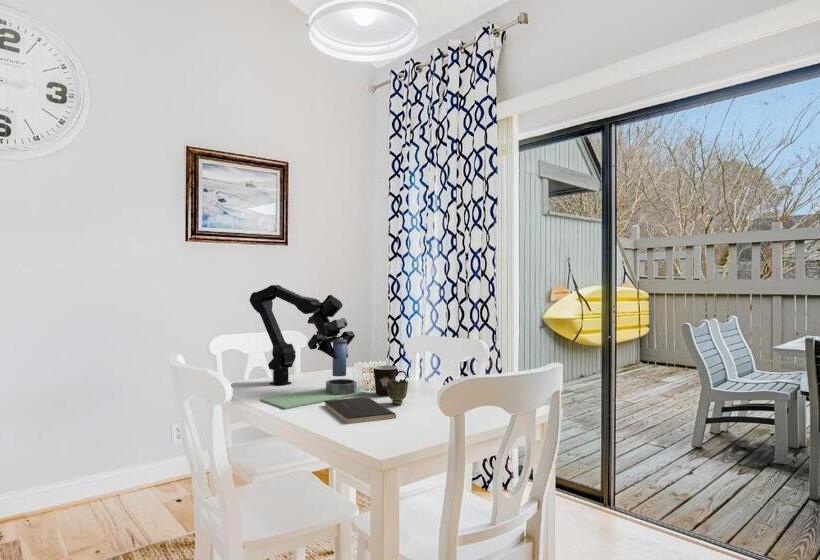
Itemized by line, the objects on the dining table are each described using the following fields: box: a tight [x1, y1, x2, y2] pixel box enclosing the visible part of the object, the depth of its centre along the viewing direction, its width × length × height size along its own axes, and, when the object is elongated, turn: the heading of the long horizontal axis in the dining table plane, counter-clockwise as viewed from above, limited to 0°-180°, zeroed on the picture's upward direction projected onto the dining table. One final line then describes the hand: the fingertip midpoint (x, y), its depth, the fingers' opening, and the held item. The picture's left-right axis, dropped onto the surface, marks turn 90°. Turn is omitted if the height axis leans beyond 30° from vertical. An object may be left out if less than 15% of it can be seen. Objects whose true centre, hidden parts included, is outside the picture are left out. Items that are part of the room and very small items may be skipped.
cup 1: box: [325, 378, 358, 395], centre depth 194 cm, size 11×11×4 cm
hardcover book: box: [323, 396, 397, 424], centre depth 168 cm, size 16×23×2 cm
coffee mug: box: [373, 364, 408, 398], centre depth 192 cm, size 12×9×10 cm
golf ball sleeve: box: [332, 339, 348, 377], centre depth 192 cm, size 5×5×13 cm
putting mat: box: [259, 387, 367, 410], centre depth 187 cm, size 16×34×1 cm, turn 135°
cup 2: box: [387, 378, 409, 406], centre depth 178 cm, size 8×7×8 cm
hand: (341, 357), depth 191 cm, fingers closed on golf ball sleeve, 5 cm apart
